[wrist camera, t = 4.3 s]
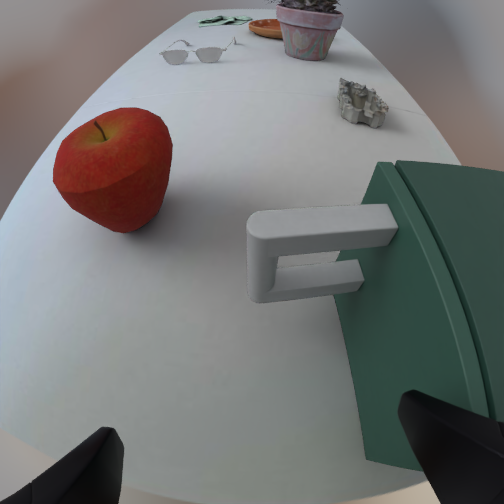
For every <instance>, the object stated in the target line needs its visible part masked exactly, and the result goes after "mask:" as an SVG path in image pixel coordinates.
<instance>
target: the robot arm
mask: <svg viewBox="0 0 504 504" xmlns="http://www.w3.org/2000/svg"><path fill="white" fill-rule="evenodd" d="M397 415H398V418H399V420H400V423H401V425H402V427H403V430H404V432H405V435H406V437H407V440H408V442H409V445H410V447H411V449H412V451H413V453H414V455H415V457H416V459H417V461H418V462H419V464H420V466H421V468H422V470H423V471H424V473H425V475H426V477H427V479H428V481H429V483H430V484H431V486H432V488H433V490H434V492H435V494H436V496H437V497H438V499H439V501H440V503H441V504H504V423H503V422H500V421H497V420H494V419H491V418H488V417H485V416H483V415H480V414H477V413H474V412H471V411H469V410H466V409H463V408H461V407H458V406H455V405H453V404H450V403H448V402H445V401H443V400H440V399H438V398H435V397H433V396H430V395H428V394H425V393H423V392H420V391H418V390H415V389H412V390H409V391H406V392H404V393H403V394H402V395H401V399H400V402H399V406H398V409H397ZM123 458H124V445H123V443H122V441H121V439H120V437H119V436H118V434H117V432H116V430H115V429H114V428H111V427H101V428H99V429H98V430H97V431H96V432H94V433H93V434H92V435H91V436H89V437H88V438H87V439H86V440H84V441H83V442H82V443H81V444H79V445H78V446H77V447H76V448H74V449H73V450H72V451H71V452H69V453H68V454H67V455H66V456H64V457H63V458H62V459H60V460H59V461H58V462H56V463H55V464H54V465H53V466H51V467H50V468H49V469H47V470H46V471H45V472H43V473H42V474H41V475H39V476H38V477H37V478H36V479H34V480H33V481H32V482H31V483H29V484H27V485H26V486H24V487H23V488H22V489H20V490H19V491H17V492H16V493H15V494H13V495H11V496H9V497H8V498H6V499H4V500H2V501H1V502H0V504H118V503H119V497H120V492H121V484H122V470H123Z"/></svg>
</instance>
